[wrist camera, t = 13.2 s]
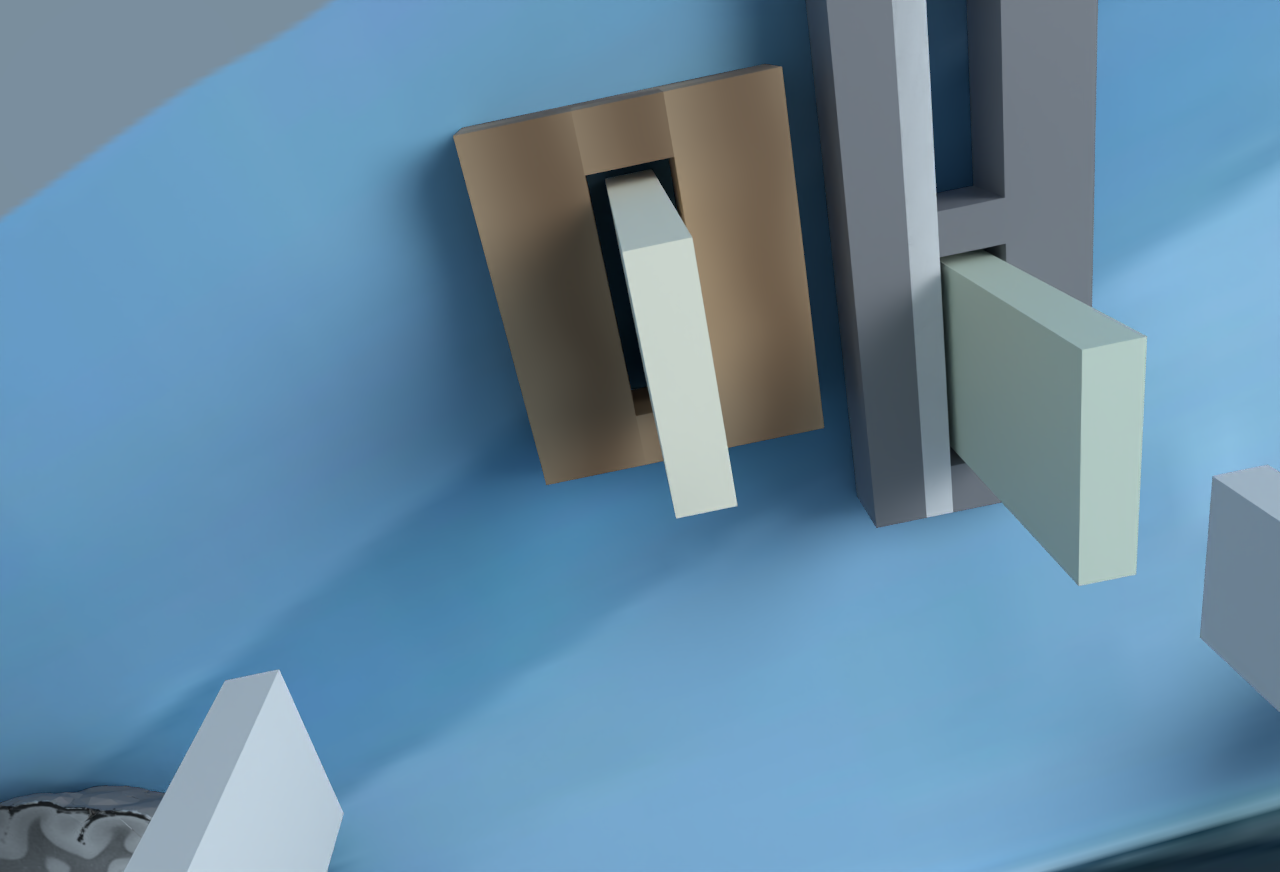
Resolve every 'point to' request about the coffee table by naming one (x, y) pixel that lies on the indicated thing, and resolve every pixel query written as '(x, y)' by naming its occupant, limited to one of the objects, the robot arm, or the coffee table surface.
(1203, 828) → the coffee table surface
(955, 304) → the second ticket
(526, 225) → the frame
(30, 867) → the brain slice
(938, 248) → the grey slotted plate
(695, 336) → the pale green slab
